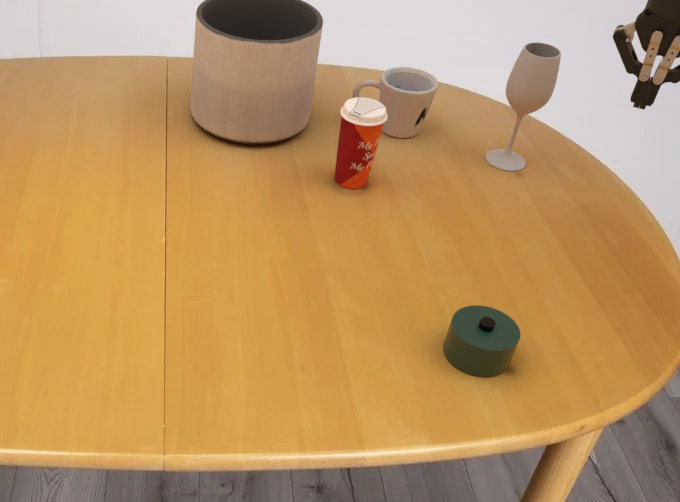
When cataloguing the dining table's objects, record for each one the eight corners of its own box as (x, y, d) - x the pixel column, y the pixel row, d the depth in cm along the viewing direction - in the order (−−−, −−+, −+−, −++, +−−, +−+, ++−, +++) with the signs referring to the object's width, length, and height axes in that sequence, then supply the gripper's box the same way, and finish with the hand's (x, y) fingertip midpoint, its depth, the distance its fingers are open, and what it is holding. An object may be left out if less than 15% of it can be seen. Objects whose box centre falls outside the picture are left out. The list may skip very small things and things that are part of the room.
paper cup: (359, 198, 147) (375, 123, 138) (319, 181, 151) (332, 107, 141) (380, 178, 152) (397, 105, 143) (342, 163, 155) (356, 90, 146)
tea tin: (520, 352, 121) (533, 319, 117) (492, 387, 115) (505, 354, 111) (460, 323, 125) (471, 290, 121) (431, 355, 119) (441, 323, 115)
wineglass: (482, 167, 156) (517, 55, 142) (485, 146, 162) (519, 37, 147) (526, 175, 155) (566, 63, 140) (527, 154, 160) (566, 44, 146)
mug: (427, 145, 161) (440, 96, 154) (346, 135, 162) (355, 86, 156) (425, 118, 168) (438, 69, 162) (348, 109, 170) (357, 60, 163)
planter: (209, 82, 176) (215, -19, 162) (319, 102, 171) (335, 1, 158) (174, 135, 160) (177, 29, 147) (294, 159, 156) (309, 52, 142)
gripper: (756, -26, 104) (695, 106, 116) (639, -47, 109) (591, 82, 120) (754, -5, 99) (690, 131, 111) (631, -28, 104) (582, 105, 115)
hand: (639, 105), depth 116 cm, fingers closed
